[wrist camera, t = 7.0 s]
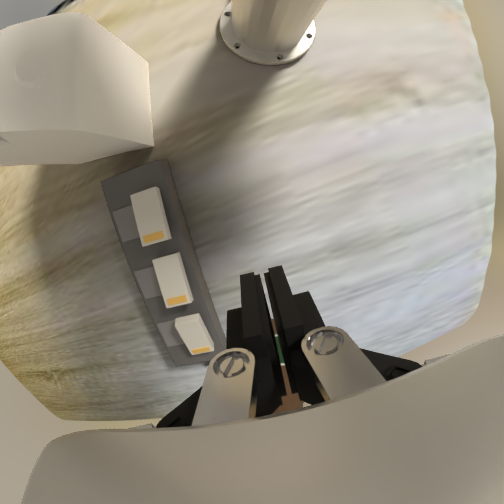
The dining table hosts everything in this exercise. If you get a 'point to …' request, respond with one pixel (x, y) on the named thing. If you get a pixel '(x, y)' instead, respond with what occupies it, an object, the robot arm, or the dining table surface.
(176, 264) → the rocker mid
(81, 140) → the milk
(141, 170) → the power strip
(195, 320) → the rocker
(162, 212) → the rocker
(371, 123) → the dining table surface
